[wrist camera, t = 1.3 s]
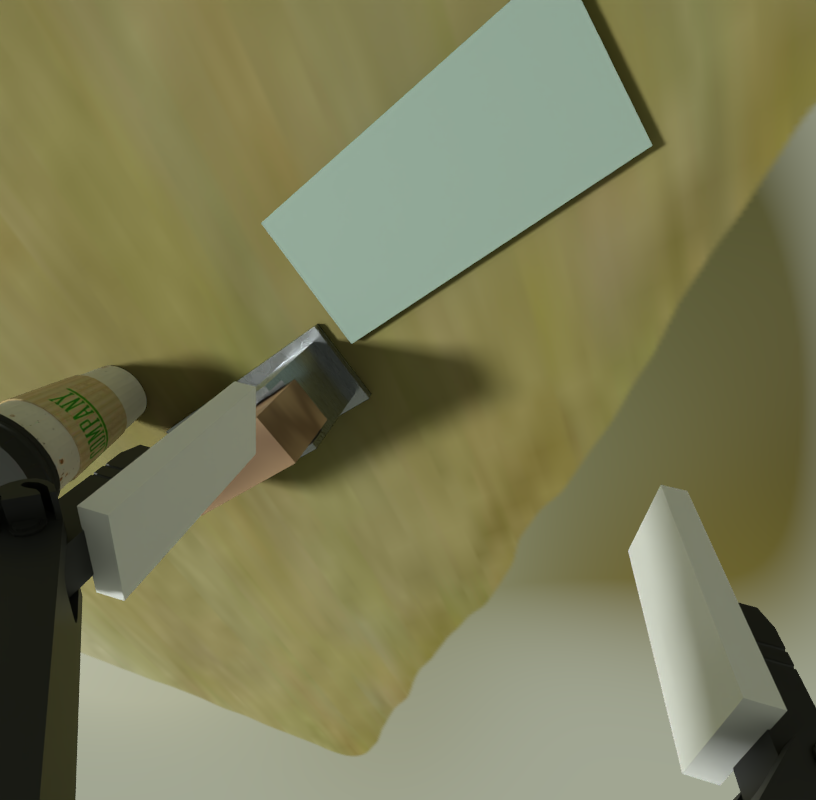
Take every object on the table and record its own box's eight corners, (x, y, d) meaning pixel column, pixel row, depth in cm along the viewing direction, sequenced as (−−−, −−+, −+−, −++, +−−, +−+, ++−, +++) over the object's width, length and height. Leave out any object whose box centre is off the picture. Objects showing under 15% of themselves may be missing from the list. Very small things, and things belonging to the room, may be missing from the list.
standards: (170, 428, 53) (100, 483, 44) (317, 323, 44) (265, 368, 35) (221, 482, 55) (163, 546, 46) (371, 394, 46) (334, 452, 37)
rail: (132, 486, 47) (82, 529, 41) (294, 379, 37) (256, 417, 32) (162, 517, 48) (117, 562, 42) (327, 419, 38) (295, 463, 33)
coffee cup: (158, 446, 55) (43, 540, 42) (78, 411, 55) (-62, 494, 42) (166, 371, 50) (37, 452, 37) (77, 334, 50) (-82, 401, 37)
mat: (266, 221, 41) (261, 223, 40) (559, -38, 30) (560, -44, 29) (355, 339, 44) (351, 344, 43) (649, 145, 33) (652, 145, 32)
